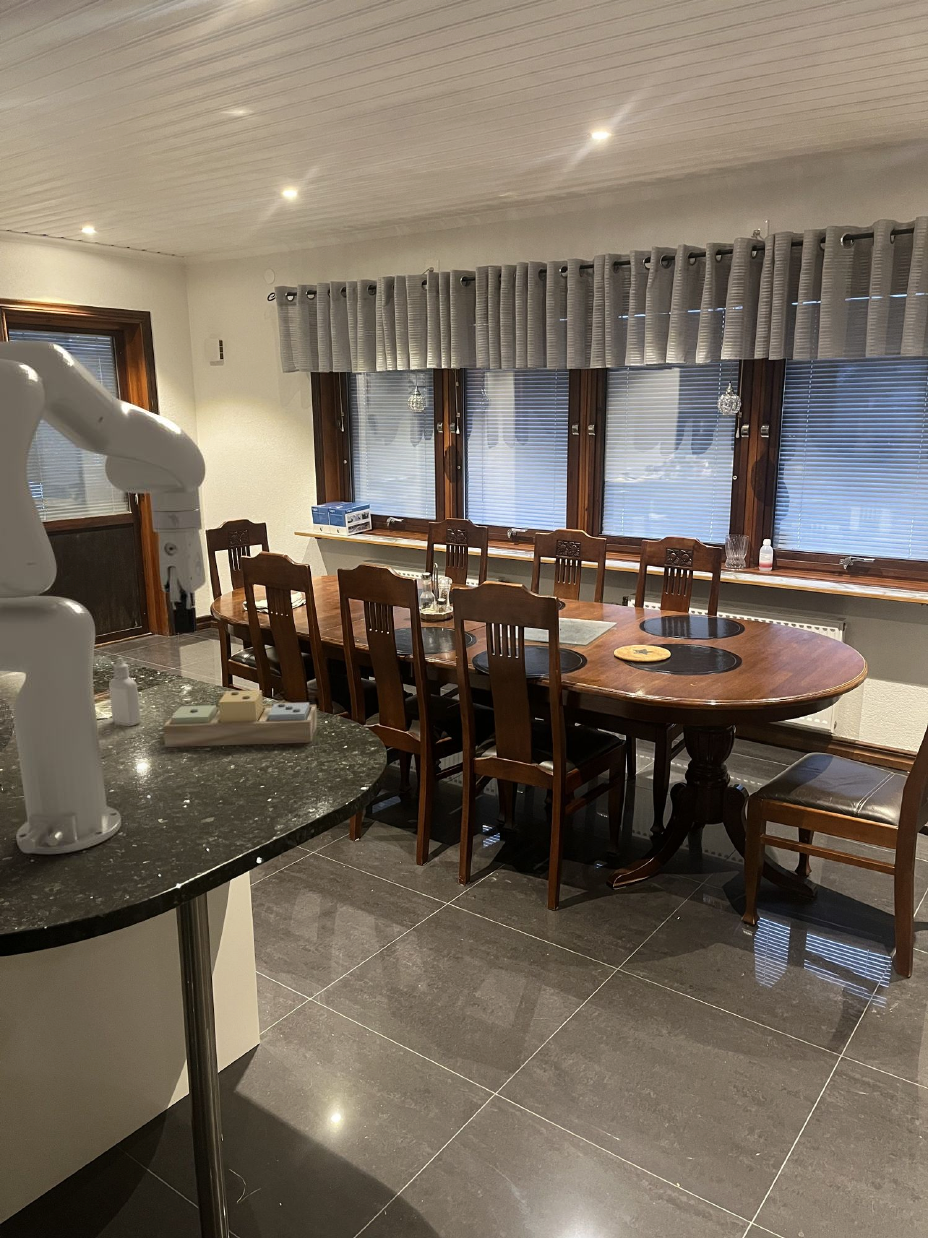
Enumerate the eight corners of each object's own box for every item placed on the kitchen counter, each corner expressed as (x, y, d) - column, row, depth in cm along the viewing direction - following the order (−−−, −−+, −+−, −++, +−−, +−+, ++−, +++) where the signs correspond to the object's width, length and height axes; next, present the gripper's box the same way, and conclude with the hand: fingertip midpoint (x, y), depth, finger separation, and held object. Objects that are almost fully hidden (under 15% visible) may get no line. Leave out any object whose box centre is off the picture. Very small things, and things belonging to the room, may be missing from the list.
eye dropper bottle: (115, 729, 156) (108, 663, 154) (112, 720, 161) (104, 656, 159) (141, 725, 158) (135, 660, 156) (137, 716, 163) (130, 652, 160)
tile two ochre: (256, 722, 149) (255, 699, 148) (220, 723, 148) (218, 701, 148) (263, 710, 154) (261, 689, 154) (228, 711, 154) (226, 690, 153)
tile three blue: (305, 734, 149) (304, 712, 149) (269, 735, 149) (268, 713, 148) (310, 722, 155) (309, 701, 154) (275, 723, 155) (274, 702, 154)
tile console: (310, 742, 148) (309, 721, 147) (165, 747, 147) (163, 726, 147) (317, 724, 157) (316, 704, 156) (179, 728, 156) (178, 708, 155)
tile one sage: (209, 737, 149) (207, 715, 148) (173, 738, 149) (171, 716, 148) (217, 725, 155) (216, 704, 154) (183, 726, 155) (180, 705, 154)
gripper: (188, 525, 137) (197, 642, 140) (211, 516, 151) (219, 621, 155) (138, 526, 136) (149, 643, 140) (166, 516, 151) (175, 622, 155)
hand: (186, 631), depth 148 cm, fingers closed
